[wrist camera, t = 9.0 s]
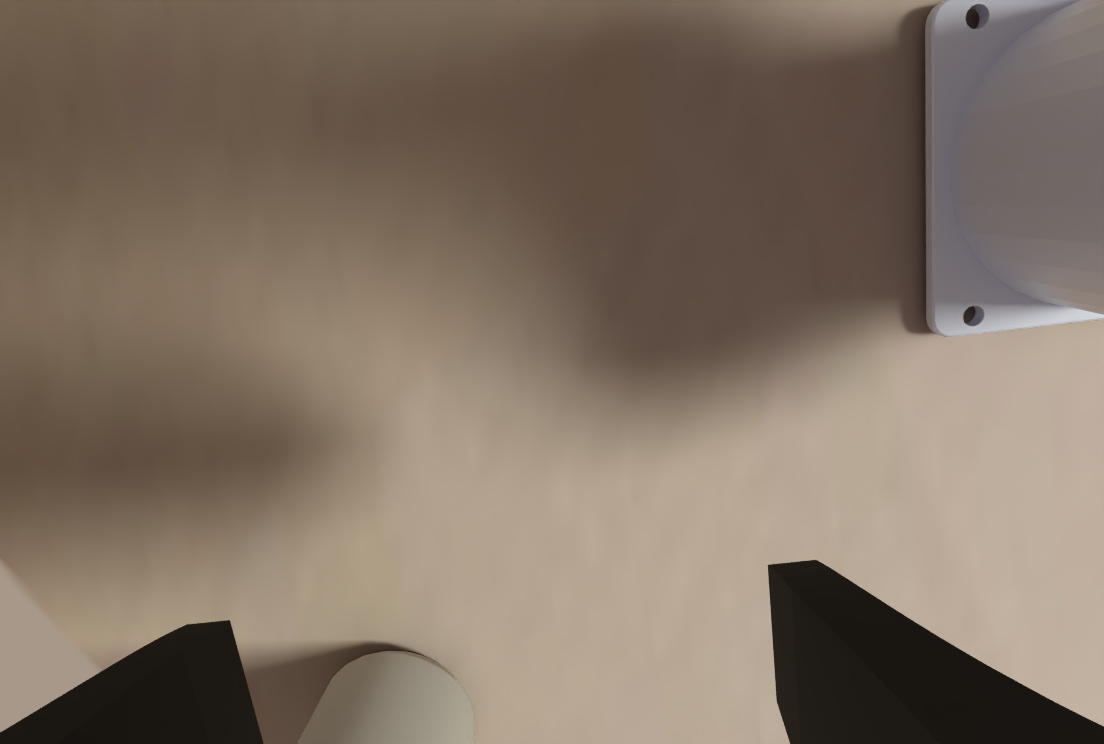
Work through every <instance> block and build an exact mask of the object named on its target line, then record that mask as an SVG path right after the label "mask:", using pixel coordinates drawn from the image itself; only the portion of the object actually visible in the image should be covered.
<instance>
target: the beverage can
mask: <svg viewBox="0 0 1104 744" xmlns="http://www.w3.org/2000/svg"><path fill="white" fill-rule="evenodd" d="M474 732H475V726H474V711H473V708H472V706H471V703H470V700H469V697H468V695H467V693H466V692H465V691H464V689H463V688H462V686H461V685H460V684H459V682H458V681H457V679H456V678H455V677H454V676H453V675H452V674H450V673H449V672H448V671H447V670H446V669H445V668H443V667H442V666H441V665H440V664H438V663H436V662H435V661H433V660H431V659H429V658H427V657H425V656H422V655H418V654H415V653H411V652H407V651H383V652H378V653H373V654H368V655H364V656H362V657H360V658H358V659H356V660H354V661H352V662H350V663H348V664H346V665H345V666H344V667H343V668H342V669H341V670H340V671H339V672H338V673H336V674H335V675H334V676H333V677H332V679H331V681H330V683H329V685H328V686H327V688H326V690H325V692H324V694H323V696H322V697H321V699H320V701H319V703H318V705H317V707H316V709H315V711H314V712H313V714H312V716H311V718H310V720H309V722H308V724H307V725H306V727H305V729H304V731H303V733H302V735H301V737H300V739H299V741H298V742H297V744H472V742H473V737H474Z"/></svg>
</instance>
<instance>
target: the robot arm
mask: <svg viewBox="0 0 1104 744" xmlns="http://www.w3.org/2000/svg"><path fill="white" fill-rule="evenodd" d="M969 9H974V10H975V11H976V12H977V13H978V14H979V18H980V20H979V24H978V26H977V28H976V29H971V28H970V27H969V26H968V25H967V23H966V19H965V18H966V14H967V11H968V10H969ZM925 92H926V319H927V324H928V326H929V328H930V329H931V330H932V331H933V332H935V333H937V334H939V335H941V336H944V337H958V336H967V335H975V334H984V333H992V332H1000V331H1009V330H1017V329H1026V328H1034V327H1043V326H1051V325H1060V324H1068V323H1077V322H1085V321H1094V320H1102V319H1104V0H944V1H943V2H941V3H939V4H938V5H937V6H935V7H934V8H933V9H932V10H931V12H930V13H929V15H928V17H927V20H926V26H925ZM971 306H974V307H975V311H976V313H975V317H974V318H973V319H972V320H971V322H968V323H964V320H963V314H964V312H965V310H966V309H967V308H968V307H971ZM768 574H769V589H770V604H771V620H772V635H773V650H774V665H775V681H776V696H777V703H778V706H779V710H780V713H781V716H782V719H783V722H784V725H785V729H786V732H787V735H788V738H789V741H790V744H1104V726H1101V725H1099V724H1097V723H1095V722H1093V721H1091V720H1089V719H1087V718H1085V717H1083V716H1081V715H1079V714H1077V713H1075V712H1073V711H1071V710H1069V709H1067V708H1065V707H1063V706H1061V705H1059V704H1057V703H1055V702H1053V701H1052V700H1050V699H1048V698H1046V697H1044V696H1042V695H1040V694H1039V693H1037V692H1035V691H1033V690H1031V689H1029V688H1028V687H1026V686H1024V685H1022V684H1020V683H1018V682H1017V681H1015V680H1013V679H1011V678H1009V677H1007V676H1006V675H1004V674H1002V673H1000V672H998V671H997V670H995V669H993V668H991V667H989V666H987V665H986V664H984V663H982V662H981V661H979V660H977V659H975V658H974V657H972V656H970V655H968V654H967V653H965V652H963V651H962V650H960V649H958V648H956V647H955V646H953V645H951V644H950V643H948V642H946V641H945V640H943V639H941V638H940V637H938V636H936V635H935V634H933V633H932V632H930V631H928V630H927V629H925V628H923V627H922V626H920V625H919V624H917V623H915V622H914V621H912V620H911V619H909V618H907V617H906V616H904V615H903V614H901V613H899V612H898V611H896V610H895V609H893V608H892V607H890V606H888V605H887V604H885V603H884V602H882V601H881V600H879V599H878V598H876V597H874V596H873V595H871V594H870V593H868V592H867V591H865V590H864V589H862V588H861V587H859V586H857V585H856V584H854V583H853V582H851V581H850V580H848V579H847V578H845V577H843V576H842V575H840V574H839V573H837V572H836V571H834V570H832V569H831V568H829V567H827V566H826V565H824V564H822V563H821V562H819V561H817V560H811V561H801V562H791V563H782V564H772V565H768ZM0 744H263V740H262V737H261V733H260V729H259V726H258V722H257V718H256V715H255V711H254V707H253V704H252V700H251V696H250V693H249V689H248V685H247V682H246V678H245V674H244V671H243V667H242V663H241V660H240V656H239V652H238V649H237V645H236V641H235V638H234V634H233V630H232V627H231V623H230V620H227V621H218V622H208V623H198V624H188V625H185V626H183V627H181V628H179V629H177V630H174V631H172V632H170V633H168V634H166V635H164V636H162V637H160V638H159V639H157V640H155V641H153V642H151V643H149V644H148V645H146V646H144V647H142V648H140V649H139V650H137V651H135V652H134V653H132V654H130V655H128V656H127V657H125V658H123V659H122V660H120V661H118V662H116V663H115V664H113V665H111V666H110V667H108V668H106V669H105V670H103V671H101V672H100V673H98V674H96V675H95V676H93V677H92V678H90V679H89V680H87V681H85V682H83V683H82V684H80V685H78V686H77V687H75V688H73V689H72V690H70V691H68V692H67V693H65V694H63V695H62V696H61V697H58V698H57V699H55V700H54V701H52V702H50V703H49V704H47V705H45V706H44V707H42V708H40V709H39V710H37V711H36V712H34V713H32V714H30V715H29V716H27V717H26V718H24V719H22V720H21V721H19V722H17V723H16V724H14V725H12V726H11V727H9V728H7V729H6V730H4V731H2V732H0Z"/></svg>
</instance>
